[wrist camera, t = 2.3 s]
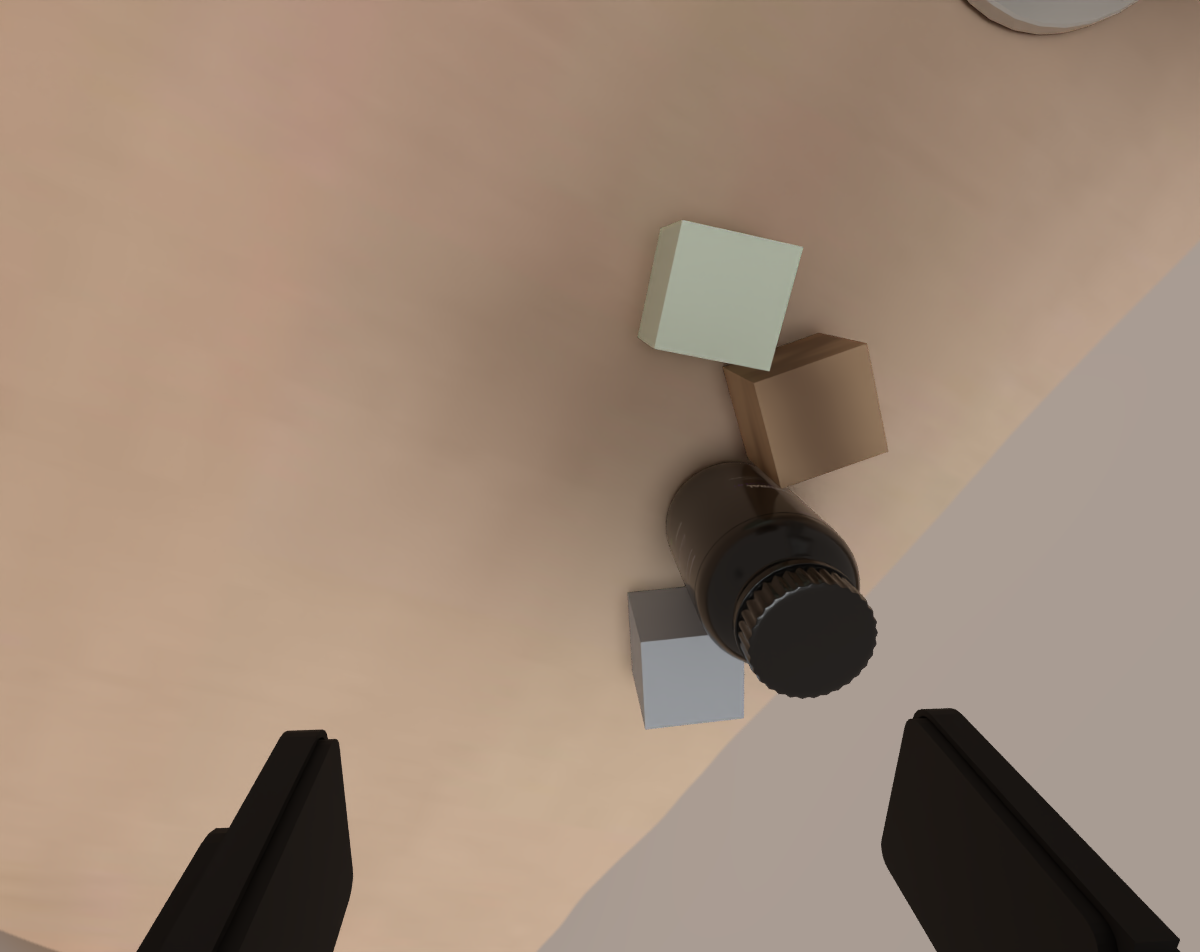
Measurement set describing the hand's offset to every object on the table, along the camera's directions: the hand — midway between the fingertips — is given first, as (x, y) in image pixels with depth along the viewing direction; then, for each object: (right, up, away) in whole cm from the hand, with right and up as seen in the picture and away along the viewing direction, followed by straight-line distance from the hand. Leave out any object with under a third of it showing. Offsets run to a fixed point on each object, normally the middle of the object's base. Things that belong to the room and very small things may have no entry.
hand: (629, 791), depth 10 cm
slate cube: (+4, -3, +25) cm, 26 cm away
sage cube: (+4, +14, +20) cm, 25 cm away
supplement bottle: (+6, +3, +24) cm, 25 cm away
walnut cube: (+9, +9, +22) cm, 25 cm away
